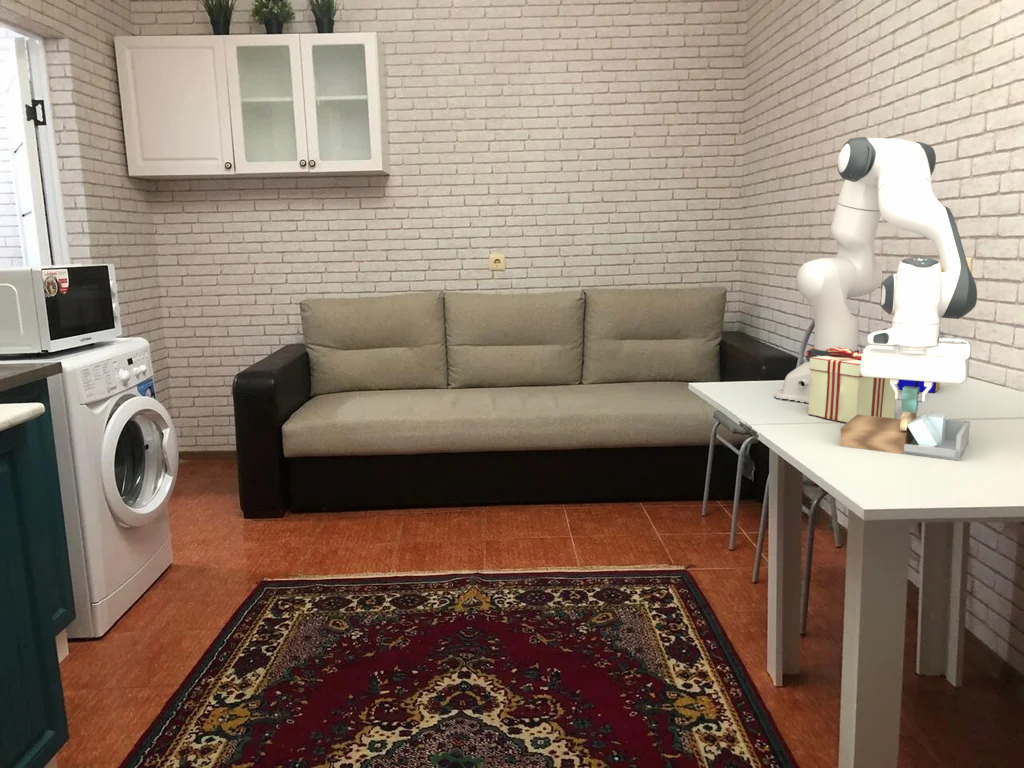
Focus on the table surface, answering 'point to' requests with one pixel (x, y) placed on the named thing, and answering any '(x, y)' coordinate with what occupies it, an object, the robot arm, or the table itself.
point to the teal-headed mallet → (908, 406)
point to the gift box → (847, 388)
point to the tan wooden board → (875, 434)
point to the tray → (950, 448)
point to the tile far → (938, 425)
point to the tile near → (924, 432)
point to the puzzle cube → (918, 385)
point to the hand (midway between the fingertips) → (910, 400)
